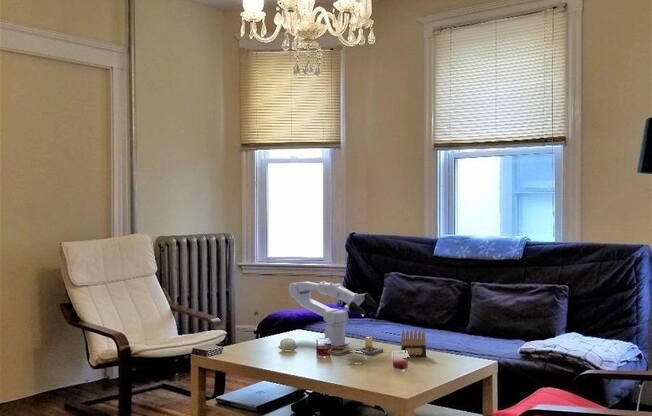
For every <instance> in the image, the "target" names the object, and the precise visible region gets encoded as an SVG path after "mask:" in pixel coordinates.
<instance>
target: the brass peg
mask: <svg viewBox="0 0 652 416" xmlns="http://www.w3.org/2000/svg"><path fill="white" fill-rule="evenodd" d="M364 341H365V342H364V343H365V346H364V347H365V351H373V337H372V336H365V340H364Z"/></svg>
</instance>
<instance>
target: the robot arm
mask: <svg viewBox="0 0 652 416" xmlns="http://www.w3.org/2000/svg"><path fill="white" fill-rule="evenodd" d="M311 291H317V292H318V294H321V295H326V296H329V297H330V298H334V297H335V298H337V299H338V300H340V301H342V302H344V303H345V305H344V309H338V308H331V307H329V306H327V305H326V304H323V303H322V302H319V301H317V300H314V299H313V298H312V296H311V295H312V292H311ZM288 293H289V296H290V298H293V299H294V300H295V301H296V302H297V304H298V305H300V307H302V308H304V309H306V310H307V311H311V312H313V313H315V314H316V315H318V316H320V317H323V321H325V322H326V323H327V325H325V328H324V339H325V338H329V339H330V341H331V345H330V346H332V347H336V346H337V347H341V346H344V345H349V344H350V342H347V341H346V325H347V322H348V321H349V314H348V311H349V313H350V314H359V315H366V311H365V309H364V308H363V307H361V306H360V305H362V303H363V302H365V305H366V306H370V307H373V308H377V307H378V302H376V301H375V300H374V299H373V297H372V296H371V294H370V293H369V292H366V293H360V294H359V293H357V292H356V293H354V292H353V291H351V290H349V289H347V288H346V287H344V285H343V284H342V283H340V282H336V283H334V282H327V281H326V280H322V281H320V282H317V283H316V282H312V281H306V280H305V281H300V282H291V283H289V286H288Z"/></svg>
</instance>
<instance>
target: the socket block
mask: <svg viewBox="0 0 652 416" xmlns="http://www.w3.org/2000/svg"><path fill="white" fill-rule="evenodd" d="M355 350H356V351H361V352H363V353H365V354H364V355H367V356H374V355H377V354H380V353H383V352H384V348H379V347H375V346H374V347H373V351H365V346H363V347H362V346H361V347H360V348H355V349H354V351H355Z"/></svg>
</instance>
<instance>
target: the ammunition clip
mask: <svg viewBox="0 0 652 416" xmlns="http://www.w3.org/2000/svg"><path fill="white" fill-rule="evenodd" d="M426 341H427V340H426V332H425V329H422V332H421V328H419V329H418V332H417V329H416V328H415V329H414V333H413V329H412V328H411V329H410V332H409V330H408V329H407V328H406V331H405V330H404V329H402V331H401V341H400V343H401V347H400V351H401V350H405V351H406V350H407V351H408V354H409V356H410V357H411V358H427V348H426V346H427V345H426Z"/></svg>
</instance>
